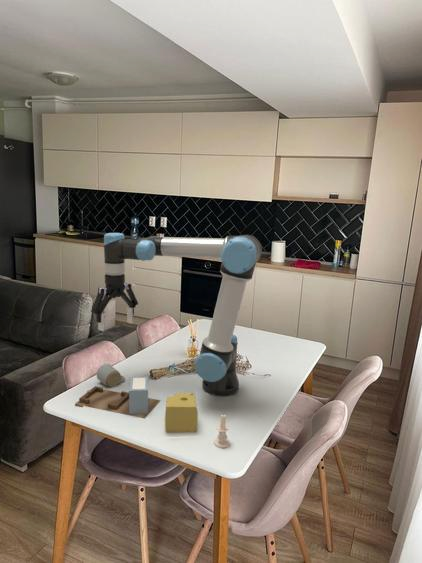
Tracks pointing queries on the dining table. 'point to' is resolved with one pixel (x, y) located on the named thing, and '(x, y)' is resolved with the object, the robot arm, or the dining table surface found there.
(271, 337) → the dining table surface
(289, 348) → the dining table surface
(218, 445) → the chess piece
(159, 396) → the dining table surface
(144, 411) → the pale blue block
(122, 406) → the ledge board
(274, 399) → the dining table surface
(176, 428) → the cheese
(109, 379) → the ceramic mug
